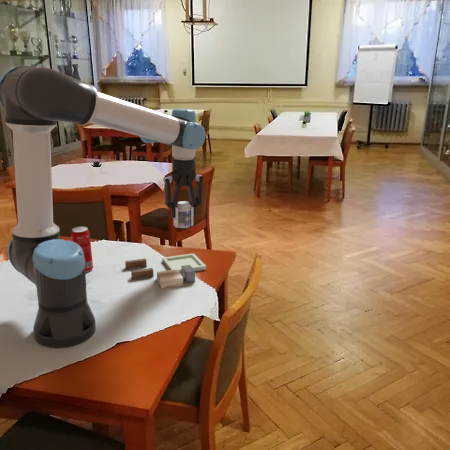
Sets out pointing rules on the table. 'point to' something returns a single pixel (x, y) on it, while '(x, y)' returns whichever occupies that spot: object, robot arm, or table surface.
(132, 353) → the table surface
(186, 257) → the tray
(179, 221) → the pill bottle
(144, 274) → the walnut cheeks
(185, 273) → the bench dog
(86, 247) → the beverage can
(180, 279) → the beige grooved block
